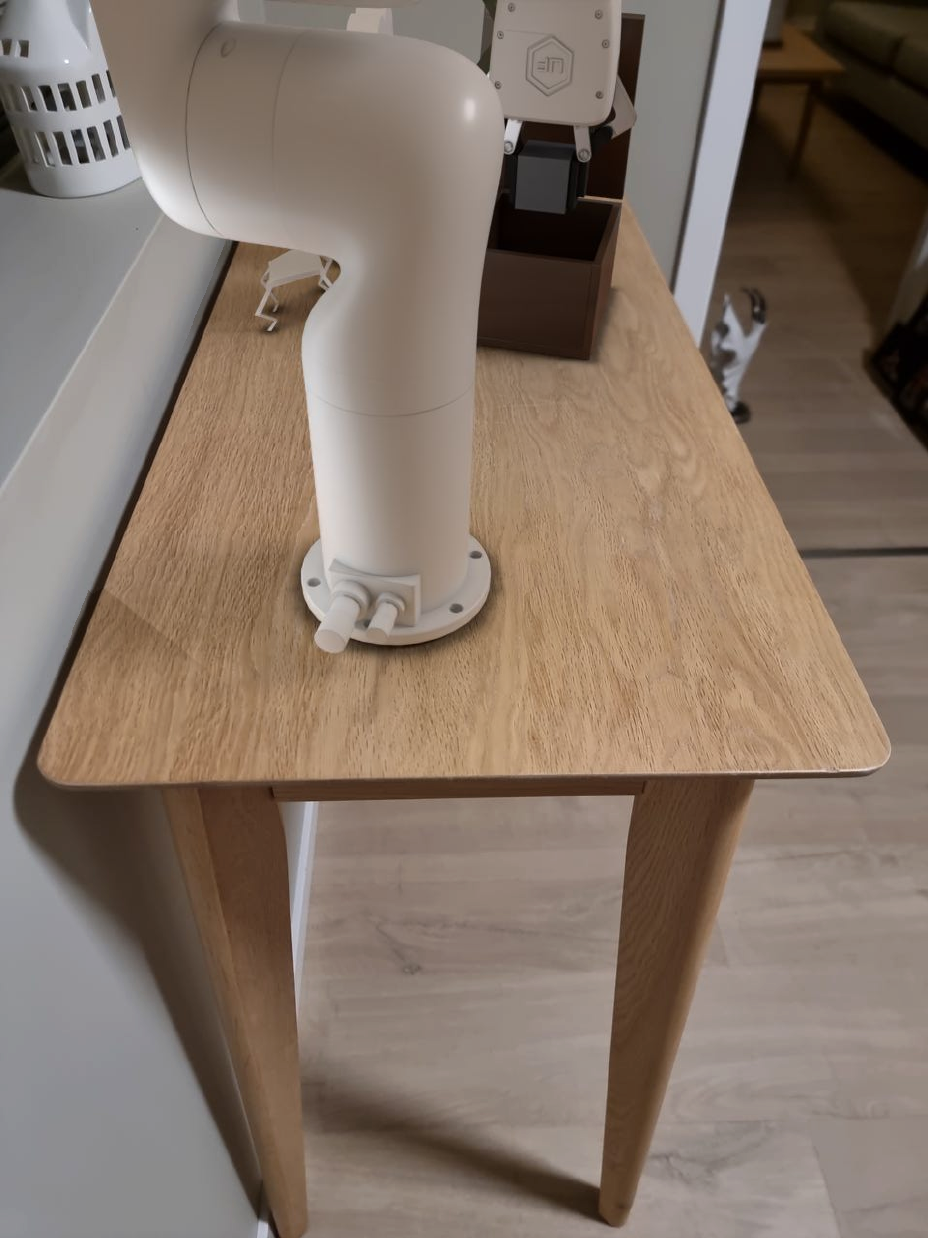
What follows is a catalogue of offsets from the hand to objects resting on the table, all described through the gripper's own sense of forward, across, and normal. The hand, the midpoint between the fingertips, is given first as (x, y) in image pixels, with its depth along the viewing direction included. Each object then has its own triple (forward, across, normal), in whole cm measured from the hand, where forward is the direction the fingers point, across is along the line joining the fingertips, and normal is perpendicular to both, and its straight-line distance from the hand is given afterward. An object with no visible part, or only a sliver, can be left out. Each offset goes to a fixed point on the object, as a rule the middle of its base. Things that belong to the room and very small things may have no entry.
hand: (544, 198), depth 82 cm
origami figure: (+12, -22, -3) cm, 25 cm away
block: (0, 0, 0) cm, 0 cm away
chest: (+12, 0, +2) cm, 12 cm away
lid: (-5, 0, +7) cm, 9 cm away
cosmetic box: (+12, -14, +58) cm, 61 cm away
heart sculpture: (+12, -27, +34) cm, 45 cm away
